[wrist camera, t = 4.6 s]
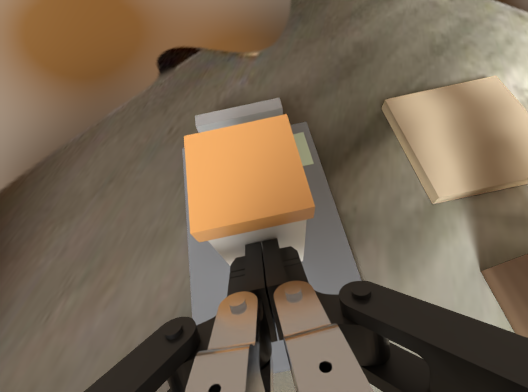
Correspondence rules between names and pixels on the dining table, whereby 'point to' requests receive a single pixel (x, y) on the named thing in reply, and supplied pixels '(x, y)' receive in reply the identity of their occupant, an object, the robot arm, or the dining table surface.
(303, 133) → the panel
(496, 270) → the pepper mill
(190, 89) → the dining table surface
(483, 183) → the coaster
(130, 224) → the dining table surface
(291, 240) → the orange-capped white pillar
